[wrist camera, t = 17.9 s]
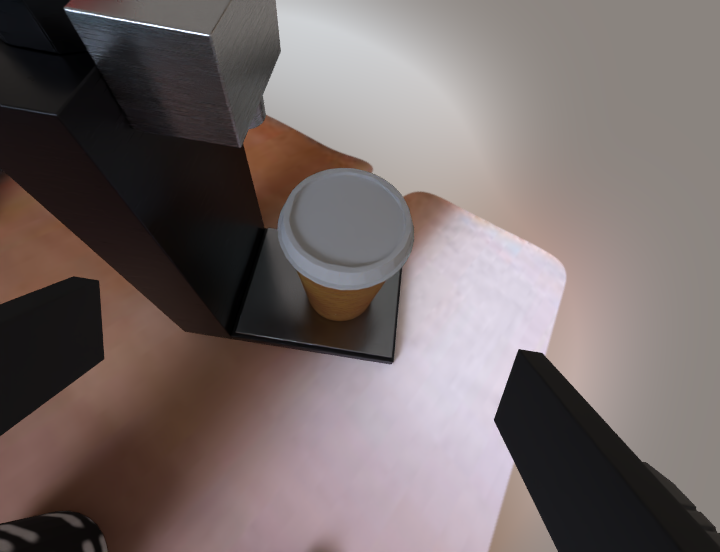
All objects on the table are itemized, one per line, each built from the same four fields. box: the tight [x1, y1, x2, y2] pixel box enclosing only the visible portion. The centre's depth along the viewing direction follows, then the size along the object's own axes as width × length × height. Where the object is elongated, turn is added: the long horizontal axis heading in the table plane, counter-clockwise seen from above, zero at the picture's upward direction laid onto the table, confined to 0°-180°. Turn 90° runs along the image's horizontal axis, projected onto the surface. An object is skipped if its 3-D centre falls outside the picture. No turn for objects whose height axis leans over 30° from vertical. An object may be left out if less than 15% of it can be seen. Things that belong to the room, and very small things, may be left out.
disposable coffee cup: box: [278, 168, 414, 321], centre depth 29 cm, size 10×10×12 cm
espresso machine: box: [64, 0, 402, 364], centre depth 24 cm, size 12×15×26 cm
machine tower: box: [0, 0, 265, 339], centre depth 23 cm, size 12×6×26 cm, turn 172°
